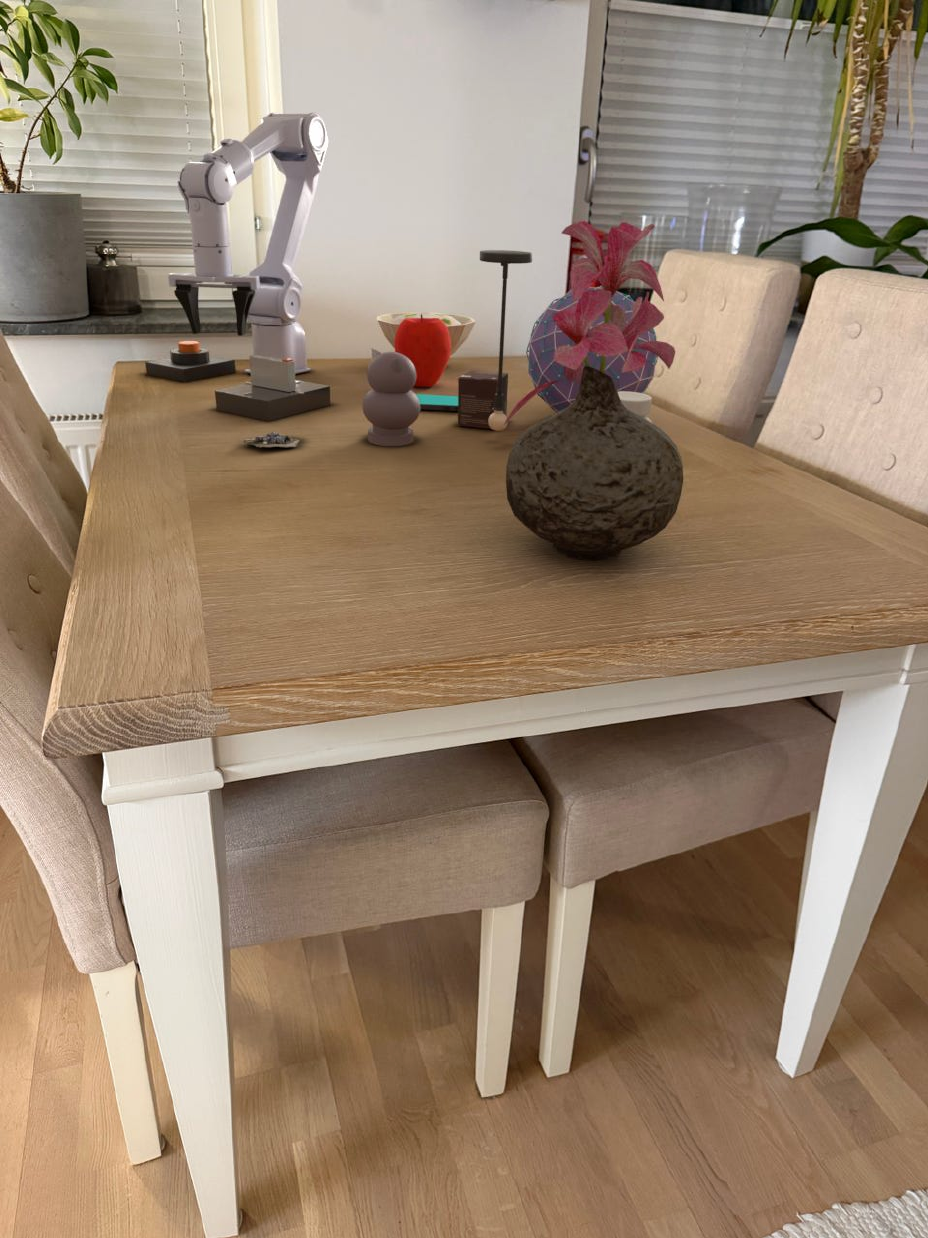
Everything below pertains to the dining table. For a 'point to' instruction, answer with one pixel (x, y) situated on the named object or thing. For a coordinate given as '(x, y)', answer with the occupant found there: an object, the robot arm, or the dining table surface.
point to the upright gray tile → (272, 373)
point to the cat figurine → (391, 399)
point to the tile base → (272, 400)
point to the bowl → (454, 323)
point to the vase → (598, 421)
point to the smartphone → (438, 402)
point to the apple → (424, 347)
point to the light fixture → (502, 324)
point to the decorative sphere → (551, 338)
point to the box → (479, 397)
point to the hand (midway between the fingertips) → (219, 333)
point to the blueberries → (272, 441)
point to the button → (188, 346)
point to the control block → (190, 366)
